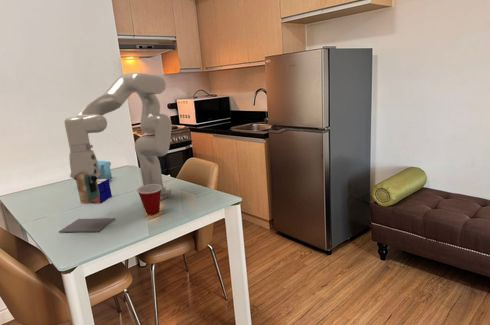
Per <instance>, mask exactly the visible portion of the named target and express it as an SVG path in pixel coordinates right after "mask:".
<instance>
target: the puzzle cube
mask: <svg viewBox="0 0 490 325" xmlns="http://www.w3.org/2000/svg"><path fill="white" fill-rule="evenodd" d="M97 184H98V189H99V195H100V197H99V198H97V199H95V200H94V201H92V202H90V203H89V204H102V203H104V202H105V201H107V200H109V199H110V198H112V196H113V194H112V190H111V185H110V179H97ZM108 198H109V199H108ZM103 201H104V202H103Z"/></svg>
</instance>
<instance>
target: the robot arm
mask: <svg viewBox="0 0 490 325" xmlns="http://www.w3.org/2000/svg"><path fill="white" fill-rule="evenodd" d="M166 86H167V85H166V81H165V79H164V78H163V77H162V76H160V75H157V74H150V73H143V72H133V73H126V74H121V75H120V76H119V77H117V79H116V80H115V81H114V83H112V84H111V85H110V87H109V88H108V89H107V90H106V92H104V93H103V94H102V95H100V96H98V97H97V98H96V99H94V100H93V101H91V102H90V103H88V104H87V105H86V106H85V107H83V109H81V111H80V112H79V113H78V114H77V115H76V116H75V117H68V118H65V120H64V127H65V132H66V138H67V142H68V146H69V157H68V158H69V166H70V174H69V177H70V178H71V179H73V180H75V181H76V178H75V175H76V174H86V176H88V178H89V181H90V183H89V186H90V191H91V193H93V192H95V191H96V183H95V181H96V180H97V178H98V177H100V176H101V175H102V174H101V173H100V171H99V166H98V162H97V161H98V159H97V156H96V154H95V151H94V150H93V147H94V146H93V144H91V142H90V139H89V137H90V136H89V134H92V133H93V134H96V133H97V134H98V133H101V132H104V131H105V130H106V129H107V126H108V121H107V119H106V117H105V116H104V115H106V114H108V113H109V114H110V113H112V112H114V111H116V110H118V109H120V108H121V107H122V106H123V104H124V103H126V101H127V100H128V99H129V97H130V96H131V95H132V94H134V93H136V94H137V95H138V97H139V98H140V100H141V104H142V106H141V116H140V124H139V125H140V126H139V127H140V130H141V131H142V133H144V134H148V136H144V135H143V136H140V137H138V138H137V139H136V141H135V143H134V150H135V153H136V155H137V159H138V162H139V167H140V168H139V169H140V173H141V178H142V184H143V185H142V186H144V185H149V184H158V185H161V186H162V189H161V193H160V201H162V200H165V199H166V198H168V196H172V190H171V189H166V188H167V187H166V186H165V187H164V182H163V176H162V168H161V164H160V160H159V158H158V157H163V156H166V155H167V154H168V153H169V149H170V145H171V137H172V130H173V129H172V128H173V127H172V125H173V124H172V120H171V118H170V117H169V116H168V115H167V114H164V113H161V104H160V100H159V99H158V97H157V95H160V94H162V93H164V91H165V90H166ZM150 134H151V135H152V136H151V135H150ZM153 135H154V136H153ZM95 173H96V175H95Z"/></svg>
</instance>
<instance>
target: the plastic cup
mask: <svg viewBox="0 0 490 325" xmlns="http://www.w3.org/2000/svg"><path fill="white" fill-rule="evenodd" d="M161 189H162V186H161V185H158V184H149V185H144V186H143V185H141V186H139V187H138V188H137V189H136V192H137V193H138V195H139V198H140V201H141V203H142V205H143V208H144V211H145V213H146V215H147V216H154V215H158V214H159V213H160V212H161V200H160V193H161Z"/></svg>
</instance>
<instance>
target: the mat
mask: <svg viewBox="0 0 490 325" xmlns="http://www.w3.org/2000/svg"><path fill="white" fill-rule="evenodd" d="M115 220H116V218H115V217H110V218H109V217H106V218H105V217H104V218H103V217H102V218H78V219H76V220H74V221H73V222H72V223H70V224H68V225H66V226H64V228H62V229H61V230H59V231H58V234H66V233H67V234H69V233H71V234H73V233H75V234H78V233H81V234H85V233H87V234H88V233H89V234H90V233H91V234H92V233H100V232H101V231H102V230H103V229H105V228H106V227H108V225H110V224H111V223H112V222H114V221H115Z"/></svg>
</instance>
